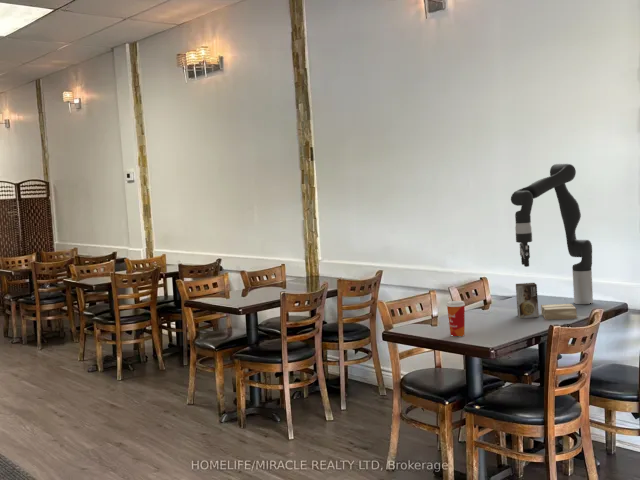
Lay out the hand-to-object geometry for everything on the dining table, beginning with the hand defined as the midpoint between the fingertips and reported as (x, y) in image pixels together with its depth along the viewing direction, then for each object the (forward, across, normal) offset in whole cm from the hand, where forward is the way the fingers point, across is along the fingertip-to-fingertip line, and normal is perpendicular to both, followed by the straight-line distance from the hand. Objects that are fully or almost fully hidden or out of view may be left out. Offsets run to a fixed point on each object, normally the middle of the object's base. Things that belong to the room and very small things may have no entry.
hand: (525, 265), depth 321 cm
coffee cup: (+25, -35, +36) cm, 56 cm away
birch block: (+25, -2, -14) cm, 29 cm away
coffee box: (+25, 0, 0) cm, 25 cm away
